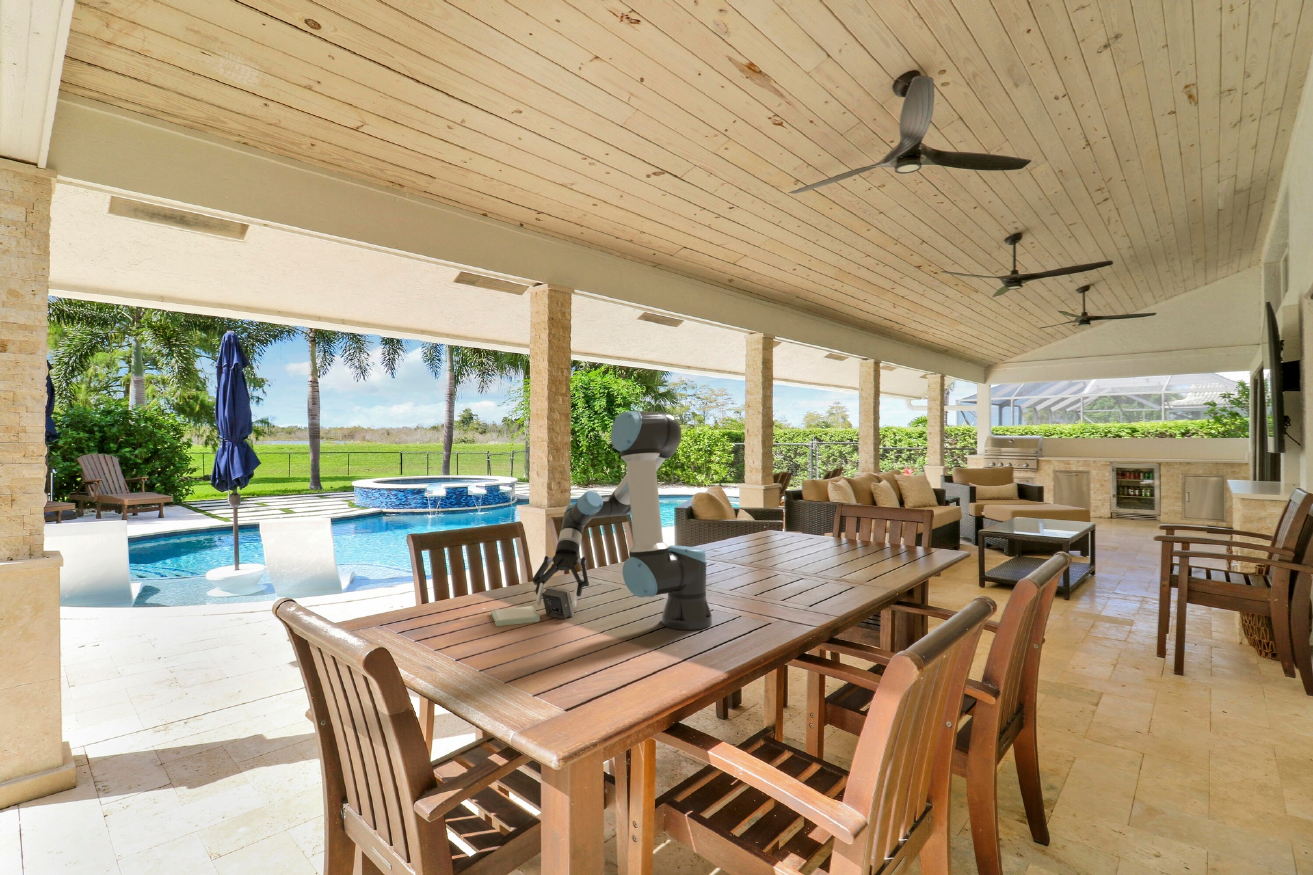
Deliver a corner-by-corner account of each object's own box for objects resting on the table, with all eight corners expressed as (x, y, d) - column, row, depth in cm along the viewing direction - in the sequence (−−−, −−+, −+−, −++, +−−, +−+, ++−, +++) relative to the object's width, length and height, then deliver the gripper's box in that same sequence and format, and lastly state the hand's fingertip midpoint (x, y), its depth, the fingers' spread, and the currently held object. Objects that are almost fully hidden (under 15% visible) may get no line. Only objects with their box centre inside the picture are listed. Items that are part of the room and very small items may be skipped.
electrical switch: (574, 616, 196) (572, 587, 195) (563, 622, 191) (561, 592, 190) (552, 612, 201) (550, 584, 200) (541, 617, 196) (539, 589, 196)
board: (539, 621, 190) (539, 616, 190) (496, 626, 185) (496, 620, 185) (532, 610, 202) (532, 605, 202) (491, 614, 197) (491, 609, 197)
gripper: (604, 552, 210) (594, 611, 194) (537, 550, 212) (522, 608, 197) (601, 539, 204) (590, 598, 189) (532, 537, 207) (516, 596, 192)
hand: (555, 603), depth 193 cm, fingers open, 11 cm apart
